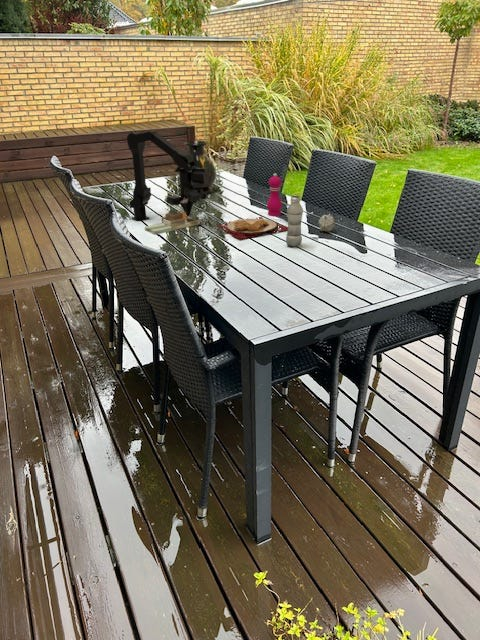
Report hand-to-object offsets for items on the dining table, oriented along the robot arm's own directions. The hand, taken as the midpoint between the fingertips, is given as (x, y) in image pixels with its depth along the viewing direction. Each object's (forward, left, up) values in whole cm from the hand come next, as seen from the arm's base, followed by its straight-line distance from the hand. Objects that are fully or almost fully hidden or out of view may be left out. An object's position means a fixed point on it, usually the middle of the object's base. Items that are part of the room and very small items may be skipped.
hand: (188, 216), depth 228 cm
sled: (0, -7, -2) cm, 7 cm away
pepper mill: (+16, +41, -4) cm, 44 cm away
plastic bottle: (+56, +15, -4) cm, 58 cm away
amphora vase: (-49, +40, -4) cm, 64 cm away
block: (0, -8, -1) cm, 9 cm away
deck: (0, -9, -3) cm, 9 cm away
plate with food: (+26, +17, -4) cm, 31 cm away
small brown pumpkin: (+52, +39, -4) cm, 65 cm away
